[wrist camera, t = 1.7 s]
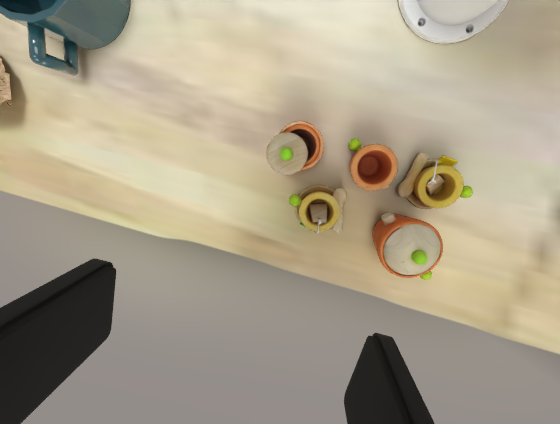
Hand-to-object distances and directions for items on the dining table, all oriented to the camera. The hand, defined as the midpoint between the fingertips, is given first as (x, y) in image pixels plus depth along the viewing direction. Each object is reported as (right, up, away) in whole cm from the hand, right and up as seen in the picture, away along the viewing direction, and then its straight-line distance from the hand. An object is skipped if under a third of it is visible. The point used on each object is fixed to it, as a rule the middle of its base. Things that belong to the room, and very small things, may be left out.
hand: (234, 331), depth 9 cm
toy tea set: (+12, +7, +27) cm, 31 cm away
